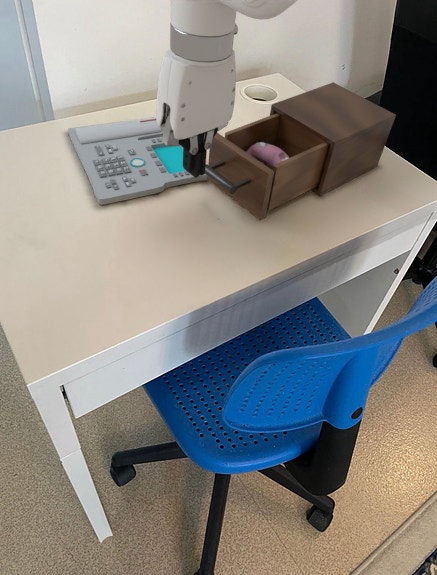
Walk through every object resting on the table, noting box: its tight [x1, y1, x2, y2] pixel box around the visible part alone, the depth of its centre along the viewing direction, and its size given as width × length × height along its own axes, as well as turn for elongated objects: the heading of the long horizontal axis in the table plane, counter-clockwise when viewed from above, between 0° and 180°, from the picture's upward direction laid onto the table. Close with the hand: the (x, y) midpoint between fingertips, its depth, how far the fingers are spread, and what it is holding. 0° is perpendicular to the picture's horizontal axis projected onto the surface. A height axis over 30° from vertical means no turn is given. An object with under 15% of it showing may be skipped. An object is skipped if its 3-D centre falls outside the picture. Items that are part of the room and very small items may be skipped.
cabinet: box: [269, 82, 397, 197], centre depth 90 cm, size 17×15×11 cm
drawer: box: [205, 113, 331, 221], centre depth 82 cm, size 20×13×9 cm
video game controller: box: [246, 142, 289, 167], centre depth 83 cm, size 10×5×7 cm, turn 42°
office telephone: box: [67, 116, 208, 206], centre depth 89 cm, size 23×3×20 cm
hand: (193, 171), depth 72 cm, fingers closed
